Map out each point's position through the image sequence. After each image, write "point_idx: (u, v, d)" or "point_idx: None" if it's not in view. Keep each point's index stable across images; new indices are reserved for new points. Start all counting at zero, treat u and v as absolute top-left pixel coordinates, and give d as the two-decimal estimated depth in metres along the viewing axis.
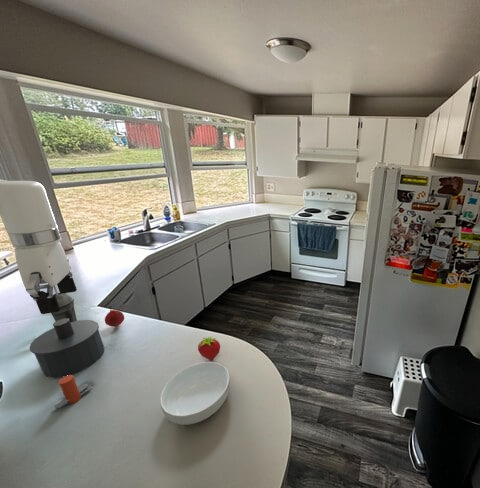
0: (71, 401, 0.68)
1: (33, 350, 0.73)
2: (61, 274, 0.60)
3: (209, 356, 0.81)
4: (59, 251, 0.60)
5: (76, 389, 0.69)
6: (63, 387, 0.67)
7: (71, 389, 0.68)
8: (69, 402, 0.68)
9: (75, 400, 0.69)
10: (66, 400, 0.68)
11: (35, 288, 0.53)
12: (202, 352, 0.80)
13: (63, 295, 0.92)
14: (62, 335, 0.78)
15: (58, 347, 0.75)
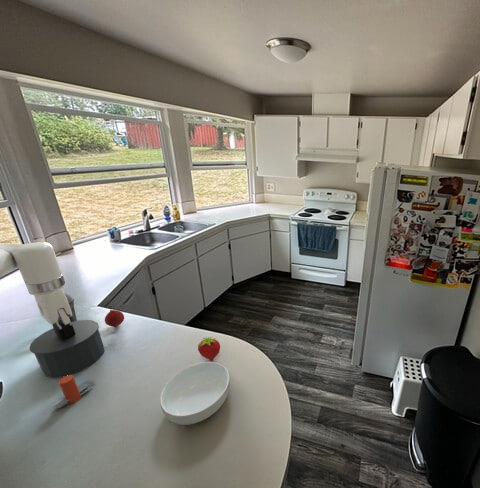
0: (71, 401, 0.68)
1: (33, 350, 0.73)
2: None
3: (209, 356, 0.81)
4: None
5: (76, 389, 0.69)
6: (63, 387, 0.67)
7: (71, 389, 0.68)
8: (69, 402, 0.68)
9: (75, 400, 0.69)
10: (66, 400, 0.68)
11: (69, 321, 0.75)
12: (202, 352, 0.80)
13: None
14: None
15: (58, 347, 0.75)
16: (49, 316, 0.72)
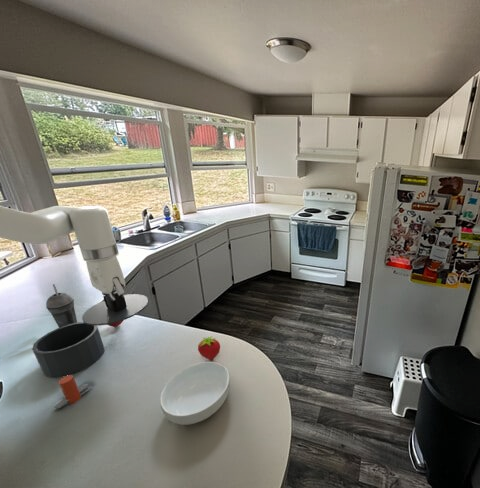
0: (71, 401, 0.68)
1: (87, 321, 0.69)
2: None
3: (209, 356, 0.81)
4: None
5: (76, 389, 0.69)
6: (63, 387, 0.67)
7: (71, 389, 0.68)
8: (69, 402, 0.68)
9: (75, 400, 0.69)
10: (66, 400, 0.68)
11: None
12: (202, 352, 0.80)
13: (63, 295, 0.92)
14: None
15: (112, 318, 0.71)
16: (104, 285, 0.68)
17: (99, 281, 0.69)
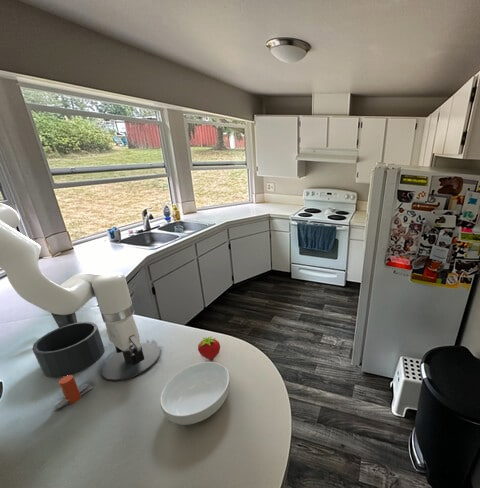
0: (71, 401, 0.68)
1: (106, 376, 0.76)
2: None
3: (209, 356, 0.81)
4: None
5: (76, 389, 0.69)
6: (63, 387, 0.67)
7: (71, 389, 0.68)
8: (69, 402, 0.68)
9: (75, 400, 0.69)
10: (66, 400, 0.68)
11: None
12: (202, 352, 0.80)
13: None
14: (129, 361, 0.81)
15: (129, 373, 0.77)
16: (122, 343, 0.75)
17: (117, 340, 0.75)
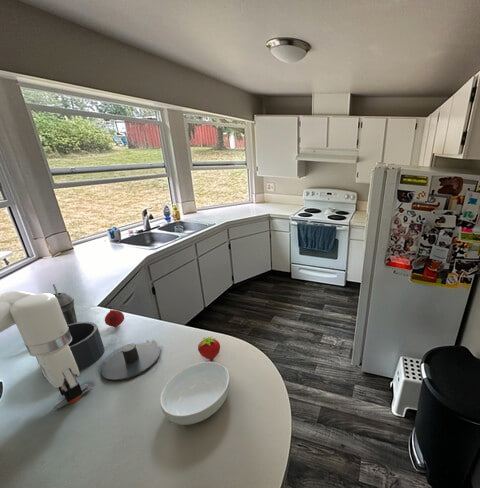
0: (71, 401, 0.68)
1: (106, 376, 0.76)
2: None
3: (209, 356, 0.81)
4: None
5: None
6: None
7: None
8: (69, 402, 0.68)
9: (75, 400, 0.69)
10: None
11: (76, 383, 0.65)
12: (202, 352, 0.80)
13: (63, 295, 0.92)
14: (129, 361, 0.81)
15: (129, 373, 0.77)
16: (53, 380, 0.62)
17: (48, 375, 0.62)
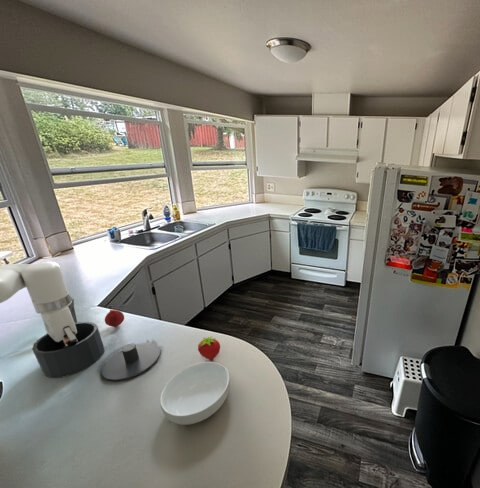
0: None
1: (106, 376, 0.76)
2: None
3: (209, 356, 0.81)
4: None
5: None
6: None
7: None
8: None
9: None
10: None
11: (74, 337, 0.76)
12: (202, 352, 0.80)
13: None
14: (129, 361, 0.81)
15: (129, 373, 0.77)
16: (55, 334, 0.74)
17: (50, 330, 0.74)
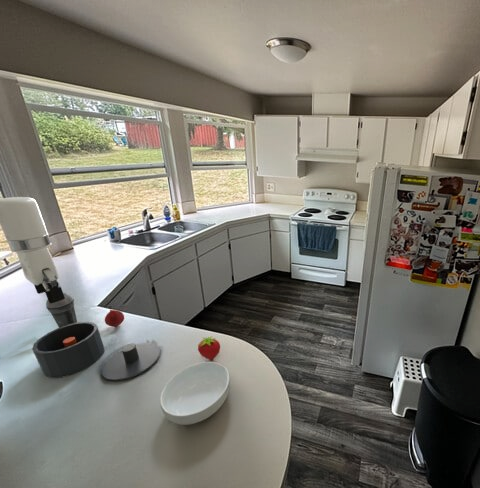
0: None
1: (106, 376, 0.76)
2: None
3: (209, 356, 0.81)
4: None
5: None
6: (66, 346, 0.80)
7: None
8: None
9: None
10: None
11: None
12: (202, 352, 0.80)
13: None
14: (129, 361, 0.81)
15: (129, 373, 0.77)
16: (33, 276, 0.68)
17: (28, 272, 0.68)
